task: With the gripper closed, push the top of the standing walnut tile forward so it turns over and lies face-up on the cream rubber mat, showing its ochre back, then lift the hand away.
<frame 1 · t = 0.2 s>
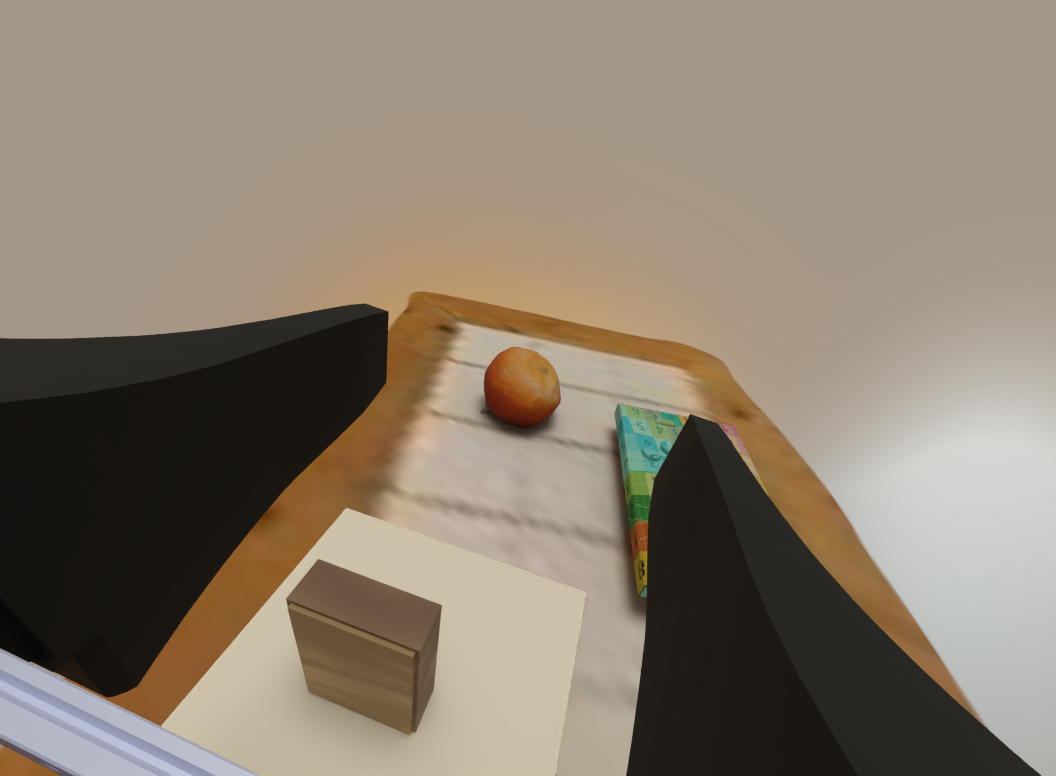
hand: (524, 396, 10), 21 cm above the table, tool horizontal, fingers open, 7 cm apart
walnut tile: (371, 688, 22), resting on mat
fruit: (517, 415, 45), on the table
mat: (389, 698, 23), on the table
puzzle game: (681, 519, 37), on the table
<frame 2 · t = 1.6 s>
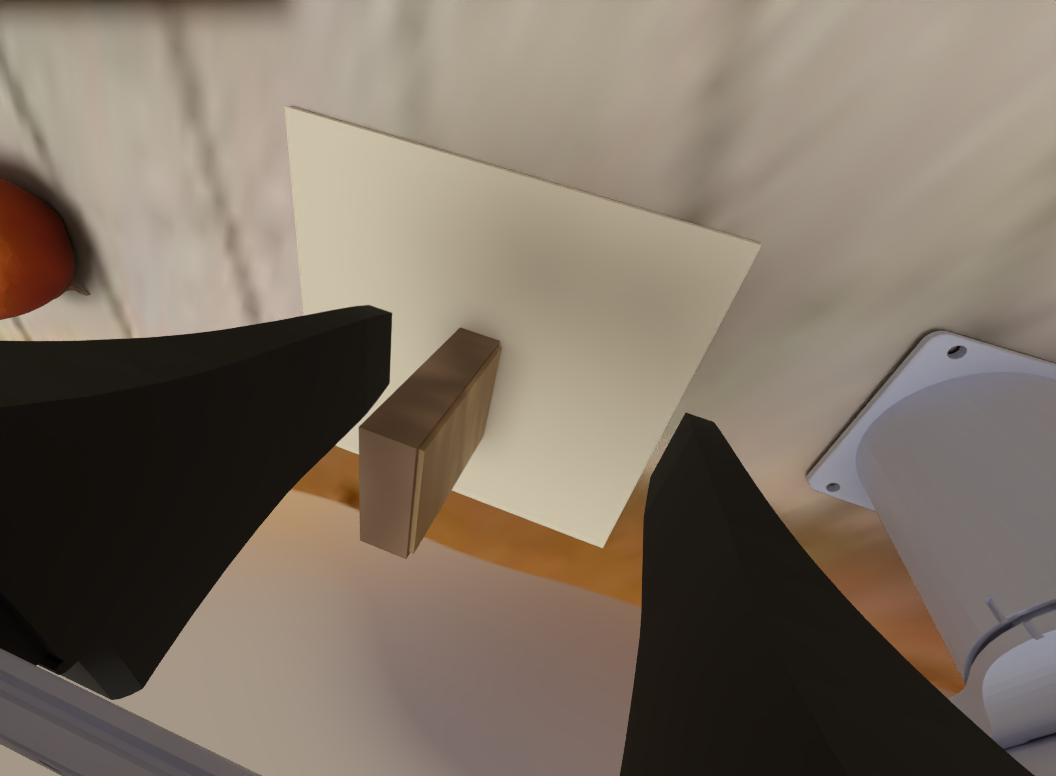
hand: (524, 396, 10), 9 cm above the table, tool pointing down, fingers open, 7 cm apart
walnut tile: (471, 385, 22), resting on mat
fruit: (48, 229, 25), on the table
mat: (476, 365, 22), on the table
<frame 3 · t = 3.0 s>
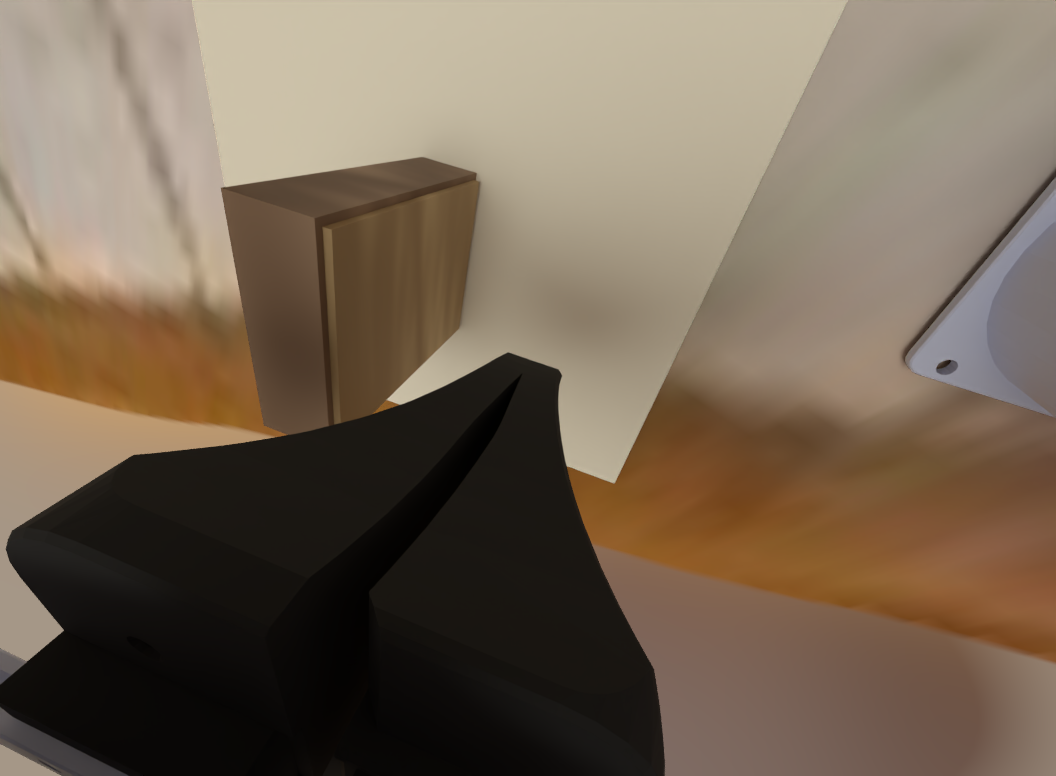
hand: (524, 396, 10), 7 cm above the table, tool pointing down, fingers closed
walnut tile: (440, 251, 16), resting on mat
mat: (448, 222, 16), on the table
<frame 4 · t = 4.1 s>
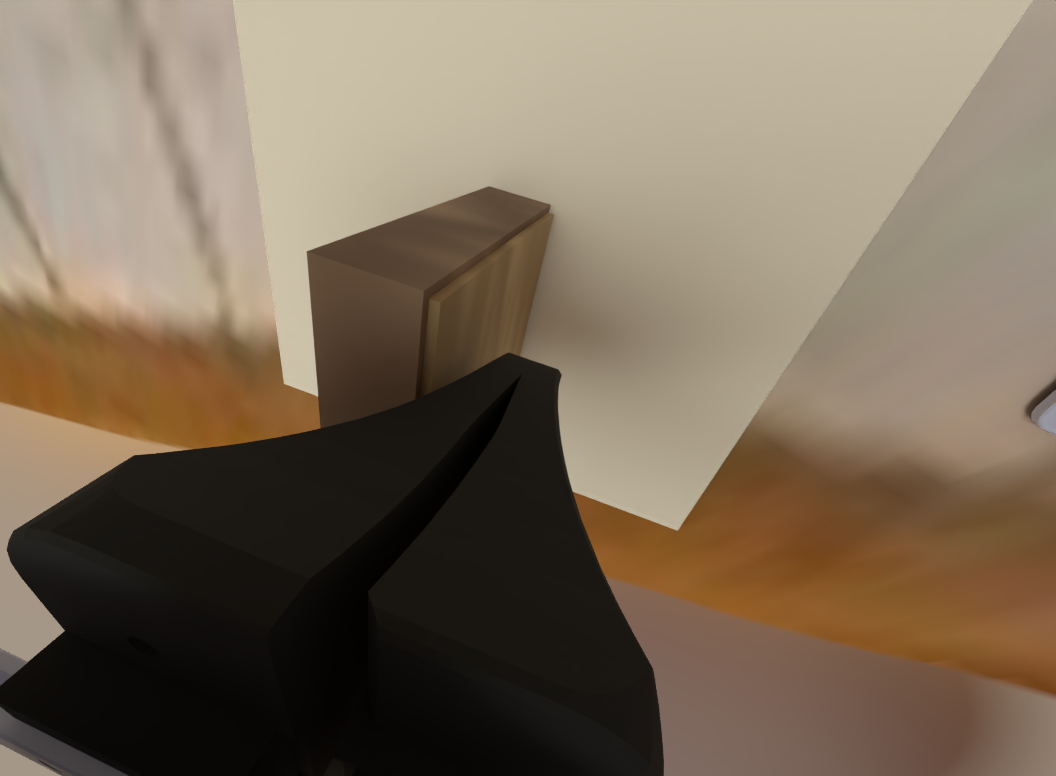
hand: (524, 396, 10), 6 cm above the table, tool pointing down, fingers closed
walnut tile: (501, 287, 15), resting on mat, touching gripper
mat: (511, 255, 15), on the table
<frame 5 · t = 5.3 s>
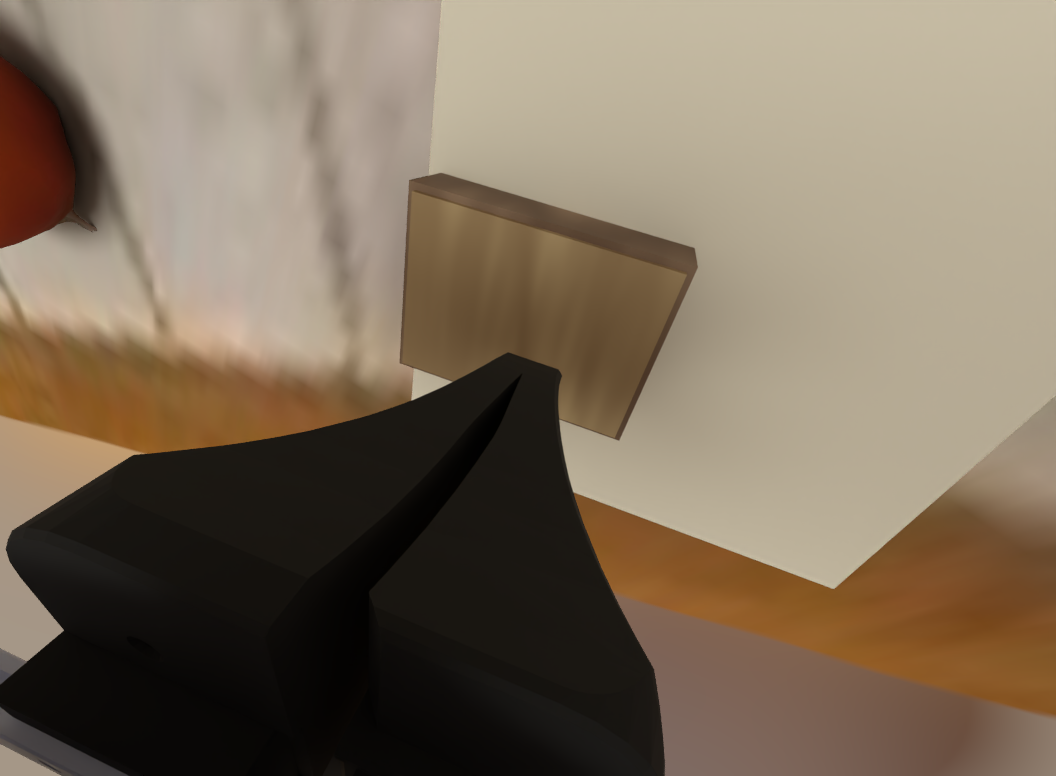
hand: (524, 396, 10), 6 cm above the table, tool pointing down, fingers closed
walnut tile: (654, 350, 13), point 1 cm above the table, tilted 90°, touching mat
fruit: (38, 130, 18), on the table
mat: (700, 315, 14), on the table
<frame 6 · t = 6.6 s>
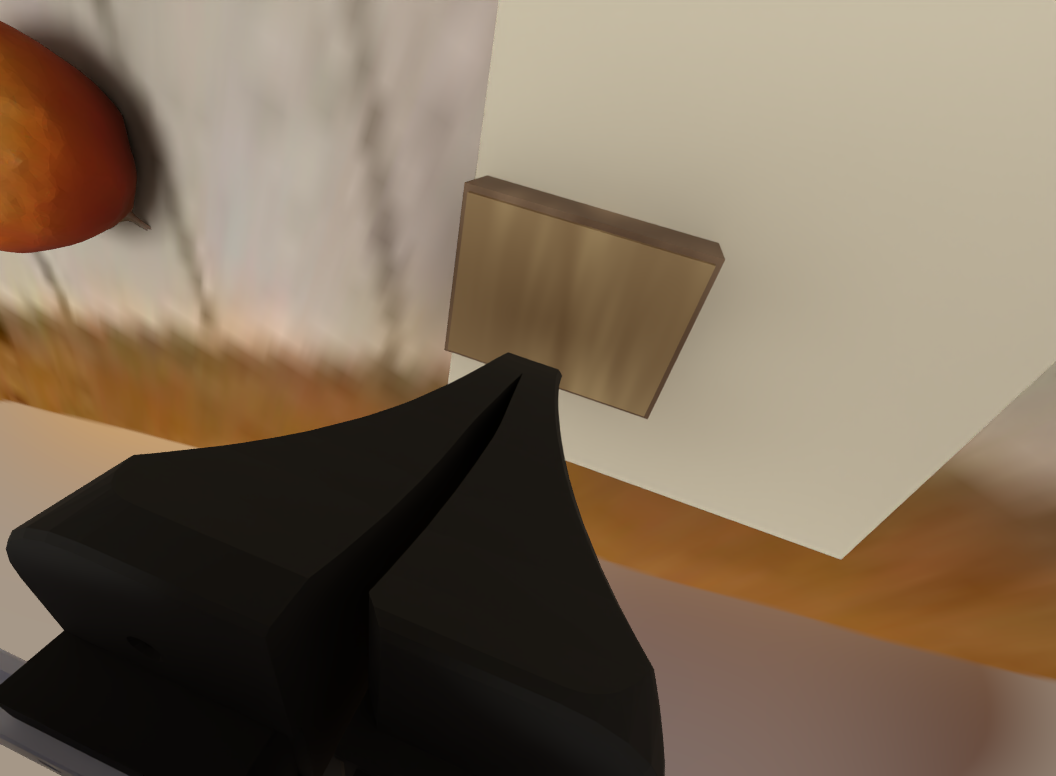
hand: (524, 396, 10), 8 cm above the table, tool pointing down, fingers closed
walnut tile: (681, 336, 15), point 1 cm above the table, tilted 90°, touching mat
fruit: (100, 135, 19), on the table
mat: (721, 305, 15), on the table
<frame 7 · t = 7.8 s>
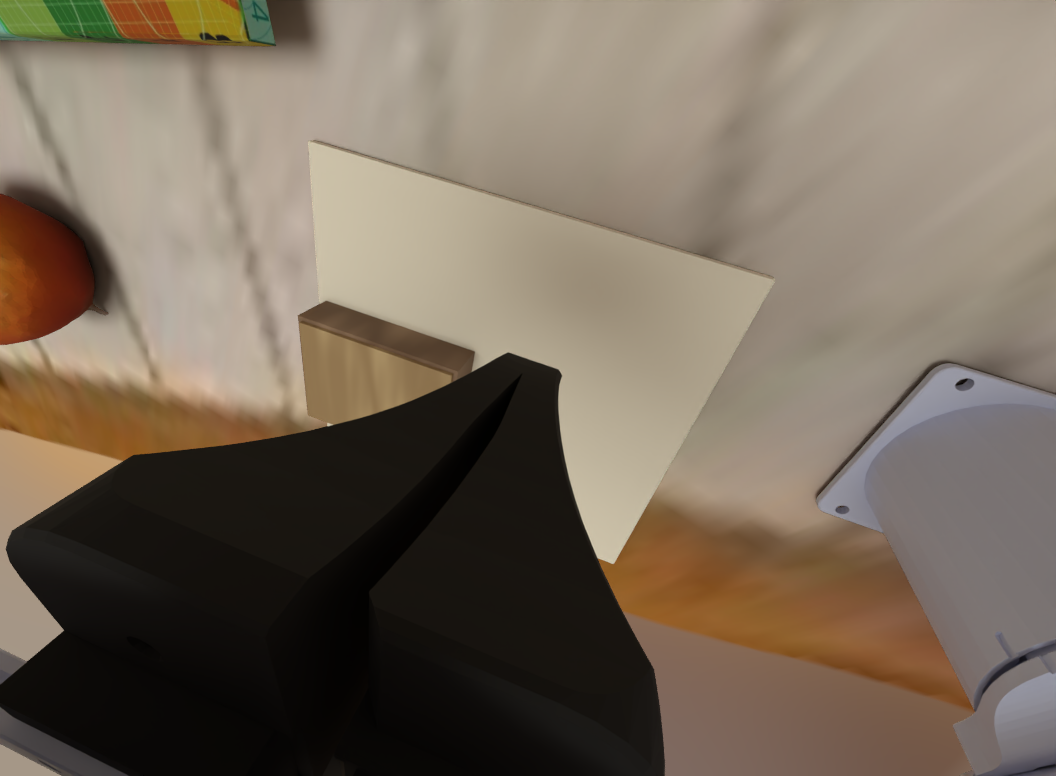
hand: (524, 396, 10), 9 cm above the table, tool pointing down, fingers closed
walnut tile: (459, 411, 22), point 1 cm above the table, tilted 90°, touching mat
fruit: (68, 250, 26), on the table
mat: (492, 388, 22), on the table
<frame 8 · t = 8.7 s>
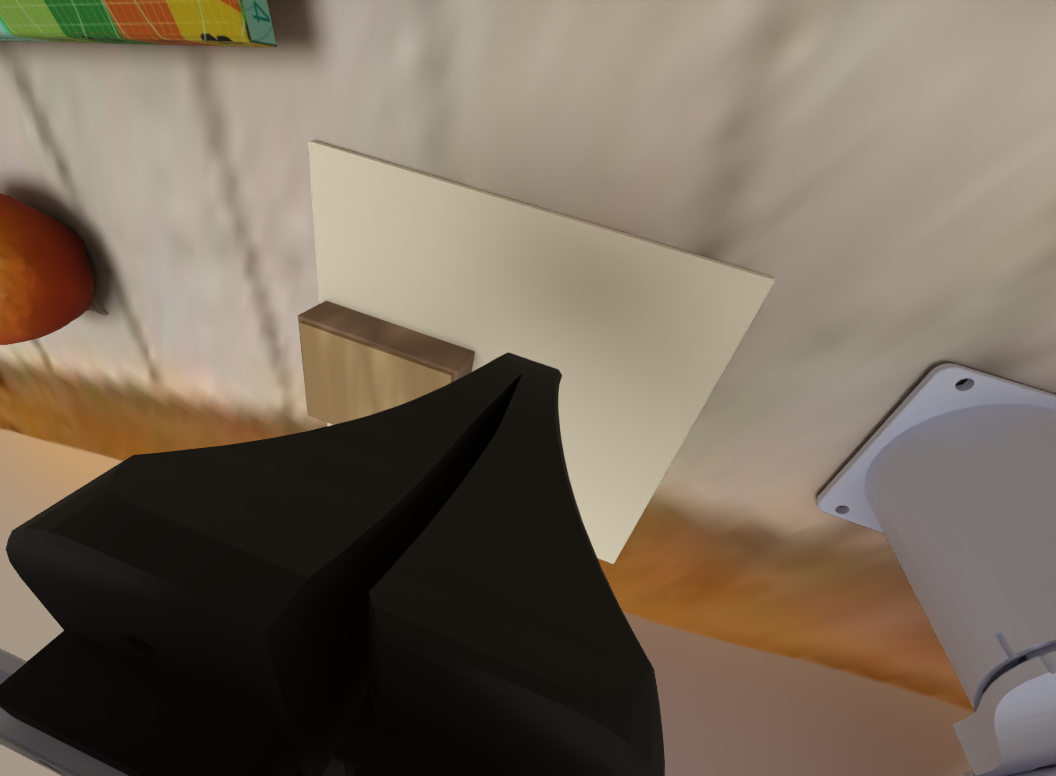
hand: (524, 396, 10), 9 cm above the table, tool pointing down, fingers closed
walnut tile: (459, 411, 22), point 1 cm above the table, tilted 90°, touching mat
fruit: (68, 250, 26), on the table
mat: (492, 388, 22), on the table
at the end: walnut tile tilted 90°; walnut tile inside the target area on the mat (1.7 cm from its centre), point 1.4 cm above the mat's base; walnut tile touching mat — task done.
